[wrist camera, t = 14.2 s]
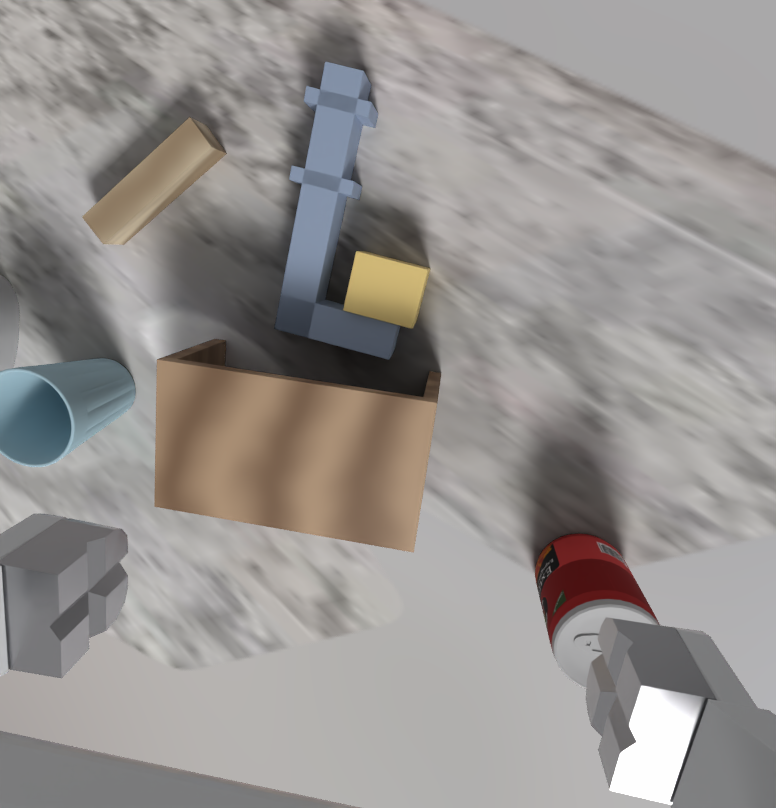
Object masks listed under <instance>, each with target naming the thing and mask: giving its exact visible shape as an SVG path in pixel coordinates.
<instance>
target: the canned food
mask: <svg viewBox="0 0 776 808" xmlns="http://www.w3.org/2000/svg"><path fill="white" fill-rule="evenodd" d="M535 578H536V583H537V587H538V592H539V597H540V601H541V605H542V609H543V614H544V618H545V622H546V627H547V631H548V635H549V640H550V644H551V647H552V651H553V654H554V656H555V659H556V661H557V664H558V666H559V668H560V669H561V671H562V672H563V673H564V674H565V675H566V676H567V677H568V678H569V679H570V680H571V681H572V682H574V683H575V684H577V685H578V686H581V687H583V688H585V689H586V687H587V677H588V673H589V669H590V664H591V662H592V661H593V660H594V659H596V658H597V657H598V656H600V655H601V654H602V651H601V648H600V645H599V642H598V639H597V638H598V635H599V631H600V628H601V625H602V623H603V621H604V619H605V618H606V617H608V618H615V619H621V620H628V621H634V622H640V623H647V624H653V625H659V623H658V620H657V618H656V617H655V615H654V613H653V611H652V609H651V607H650V606H649V604H648V602H647V600H646V598H645V597H644V595H643V593H642V591H641V589H640V588H639V586H638V584H637V582H636V580H635V579H634V577H633V575H632V573H631V571H630V570H629V568H628V566H627V564H626V562H625V560H624V559H623V557H622V556H621V554H620V553H619V552H618V551H617V550H616V549H615V548H614V547H613V546H612V545H610V544H609V543H607V542H606V541H604V540H603V539H600V538H598V537H596V536H592V535H588V534H570V535H566V536H562V537H560V538H558V539H556V540H554V541H552V542H551V543H550V544H548V545H547V546H546V547H545V548H544V549H543V551H542V553H541V554H540V556H539V559H538V561H537V564H536V569H535Z"/></svg>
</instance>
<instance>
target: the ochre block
mask: <svg viewBox="0 0 776 808" xmlns="http://www.w3.org/2000/svg"><path fill="white" fill-rule="evenodd" d="M429 272H430V268H427V267H423V266H420V265H416V264H412V263H408V262H404V261H400V260H396V259H393V258H389V257H385V256H381V255H377V254H373V253H370V252H366V251H356V254H355V259H354V263H353V268H352V272H351V277H350V281H349V286H348V290H347V295H346V299H345V304H344V308H343V310H344V311H347V312H351V313H355V314H359V315H362V316H366V317H370V318H374V319H377V320H381V321H385V322H389V323H392V324H396V325H400V326H404V327H407V328H411V329H413V327H414V325H415V323H416V321H417V317H418V314H419V310H420V306H421V302H422V298H423V295H424V291H425V287H426V283H427V279H428V276H429Z"/></svg>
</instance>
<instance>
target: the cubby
mask: <svg viewBox="0 0 776 808" xmlns="http://www.w3.org/2000/svg"><path fill="white" fill-rule="evenodd" d="M225 352H226V340H219V339H213V340H211V341H208V342H205V343H202V344H199V345H197V346H194V347H191V348H188V349H185V350H182V351H180V352H177V353H174V354H171V355H168V356H166V357H163V358H160V359H157V391H156V450H155V507H160V508H166V509H171V510H177V511H182V512H188V513H194V514H199V515H205V516H211V517H216V518H222V519H228V520H233V521H239V522H245V523H250V524H256V525H262V526H267V527H273V528H279V529H284V530H290V531H296V532H301V533H307V534H312V535H318V536H324V537H329V538H335V539H341V540H346V541H352V542H358V543H363V544H369V545H375V546H380V547H386V548H392V549H397V550H403V551H409V552H414V546H415V541H416V534H417V528H418V522H419V515H420V509H421V503H422V496H423V490H424V484H425V477H426V471H427V465H428V458H429V452H430V446H431V439H432V433H433V427H434V420H435V414H436V408H437V401H438V394H439V386H440V379H441V373H438V372H431V371H430V372H429V376H428V380H427V384H426V389H425V393H424V397H419V396H413V395H406V394H400V393H393V392H387V391H380V390H374V389H367V388H361V387H354V386H348V385H342V384H335V383H329V382H322V381H316V380H309V379H303V378H296V377H290V376H283V375H277V374H270V373H264V372H257V371H251V370H245V369H238V368H232V367H225Z"/></svg>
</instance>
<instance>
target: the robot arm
mask: <svg viewBox="0 0 776 808" xmlns="http://www.w3.org/2000/svg"><path fill="white" fill-rule="evenodd" d="M127 553H128V542H127V535H126V533H125V532H124V531H123V530H122V529H120V528H115V527H110V526H105V525H100V524H95V523H90V522H85V521H80V520H75V519H70V518H69V519H68V518H66V517H61V516H55V515H49V514H33V515H31V516H29V517H28V518H26V519H24V520H23V521H21V522H20V523H18V524H16V525H15V526H13V527H11V528H10V529H8V530H6V531H5V532H3V533H2V534H0V676H2V675H4V674H6V673H8V672H9V669H10V670H16V671H22V672H28V673H34V674H39V675H45V676H52V677H57V678H62V677H63V676H64V675H65V674H66V673H67V672H68V671H69V670H70V669H71V668H72V667H73V666H74V665H75V664H76V663H77V661H78V660H79V659H80V658H81V657H82V656H83V655H84V654H85V653H86V652H87V651H88V650H89V638H90V637H92V636H95V635H97V634H100V633H102V632H104V631H106V630H107V629H108V628H109V627H110V626H111V625H112V624H113V622H114V621H115V620H116V619H117V617H118V615H119V613H120V611H121V609H122V607H123V605H124V603H125V599H126V594H127V589H128V575H127V573H126V572H125V570H124V569H123V567H122V566H121V564H120V563H119V562H120V561H121V560H122V559H123V558H124V557H125V555H126V554H127ZM597 639H598V642H599V645H600V648H601V651H602V654H601V655H600V656H598V657H597V658H596V659H594V660H593V661H592V662H591V664H590V669H589V673H588V677H587V687H586V703H587V710H588V715H589V719H590V722H591V726H592V727H593V728H594V729H595V730H596V731H597V732H598V733H599V734H600V735H601V736H602V738H601V742H600V745H599V749H598V751H599V755H600V758H601V762H602V765H603V768H604V772H605V775H606V778H607V782H608V785H609V789H610V790H611V791H616V792H620V793H625V794H629V795H633V796H638V797H642V798H646V799H650V800H654V801H659V802H663V803H667V804H671V808H776V715H775V714H773V713H772V712H771V711H769V710H764V709H759V708H757V706H756V705H755V703H754V702H753V700H752V699H751V697H750V696H749V694H748V693H747V691H746V690H745V688H744V687H743V685H742V684H741V682H740V681H739V679H738V678H737V676H736V675H735V673H734V672H733V670H732V669H731V667H730V666H729V664H728V663H727V661H726V660H725V658H724V657H723V655H722V654H721V652H720V651H719V649H718V648H717V646H716V645H715V643H714V642H713V640H712V639H711V637H710V636H709V635H707V634H706V633H704V632H702V631H696V630H689V629H682V628H675V627H666V626H660V625H653V624H647V623H640V622H634V621H628V620H621V619H615V618H608V617H606V618H605V619H604V621H603V623H602V625H601V628H600V631H599V635H598V638H597ZM0 808H360V807H355V806H350V805H346V804H341V803H336V802H331V801H327V800H322V799H317V798H312V797H308V796H303V795H298V794H294V793H289V792H284V791H279V790H275V789H270V788H265V787H260V786H256V785H250V784H246V783H242V782H237V781H232V780H227V779H223V778H218V777H213V776H209V775H204V774H199V773H195V772H190V771H185V770H180V769H176V768H171V767H166V766H162V765H157V764H153V763H148V762H143V761H138V760H134V759H129V758H124V757H120V756H115V755H110V754H106V753H101V752H96V751H91V750H87V749H82V748H78V747H73V746H68V745H64V744H59V743H54V742H50V741H45V740H40V739H35V738H31V737H26V736H22V735H17V734H12V733H7V732H3V731H0Z"/></svg>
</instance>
